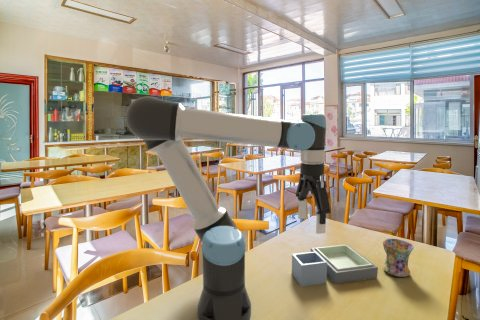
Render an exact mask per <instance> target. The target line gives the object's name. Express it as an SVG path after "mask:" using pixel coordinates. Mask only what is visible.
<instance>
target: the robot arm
mask: <svg viewBox="0 0 480 320" xmlns="http://www.w3.org/2000/svg"><path fill="white" fill-rule="evenodd" d="M125 122H126V125H127V127H128V129H129V131H130V133H132V134H133V135H134V136H135V137H137V138H139V139H140V140H143V143H144V144H145V146H146V148H147V149H148V151H149V152H151V153H155V154H157V156H158V158H159V160H160V162H161V163H162V165H163V167H164V169H165V170H166V173H167V174H168V175H169V177H170V179H171V181H172V182H173V184H174V186H175V188H176V190H177V191H178V193H179V195H180V197H181V199H182V200H183V202H184V204H185V205H186V208H187V209H188V211H189V212H190V215H191V216H192V218H193V219H194V221H193V225H192V228H193V230H194V231H195V233H196V235H197V237H198V239H199V240H200V242H201V252H202V253H201V254H202V255H201V256H202V284H203V285H202V286H203V287H202V290H201V293H200V297H199V300H198V303H197V317H198V318H197V319H198V320H250V318H251V315H252V303H251V299H250V297H249V294H248V291H247V288H246V285H245V284H246V276H245V275H246V272H245V271H246V264H245V263H246V262H245V261H246V241H245V237H244V234H243V233H242V231H241V230H239V229H238V227H237V225H236V223H235V221H234V220H232V218H231V217H230V215H229V213H228V211H227V209H226V208H225V207H223V206H219V205H218V202H217V201H216V199H215V197H214V196H213V194H212V192H211V190H210V188H209V186H208V184H207V183H206V181H205V178H204V177H203V175H202V173H201V171H200V169H199V167H198V166H197V164H196V162H195V160H194V158H193V157H192V155H191V152H190V151H189V149H188V147H187V146H186V144H185V141H184V139H193V140H200V141H201V140H202V141H213V142H222V143H232V144H243V145H250V146H252V145H253V146H262V147H270V148H271V147H272V148H278V149H279V148H280V149H289V150H293V151H300V161H301V163H300V172H299V173H300V174H299V181H298V184H297V188H296V193H295V198H296V197H297V200H298V213H297V214H298V216H297V217H298V220H301V219H307V205H308V203H307V201H308V197H307V196H309V193H310V194H311V195H312V197H313V199H314V202H315V207H316V209H317V211H316V221H315V222H316V224H315V225H316V226H315V228H316V229H315V233H316V234H317V235H319V234H320V235H321V234H326V223H327V214H331V206H330V200H329V195H328V191H327V182H326V180H321V176H323V175H325V163H324V162H325V155H326V151H325V150H326V134H327V133H326V131H327V120H326V116H325V114H322V113H310V114H309V113H307V114H304V113H303V114H302V115H301V118H300V120H290V119H289V120H288V119H279V118H272V117H264V116H254V115H249V114H248V115H247V114H238V113H232V112H231V113H230V112H222V111H221V112H220V111H213V110H205V109H197V108H188V107H185V106H184V105H182V104H181V103H180V102H172V101H168V100H164V99H162V98H159V97H155V96H150V95H144V96H140V97H138V98H136V99H134V100H133V101H132V102H131V103H130V104H129V106H128V107H127V110H126V113H125Z"/></svg>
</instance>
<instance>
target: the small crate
mask: <svg viewBox="0 0 480 320" xmlns="http://www.w3.org/2000/svg"><path fill="white" fill-rule="evenodd" d="M291 275H292V276H293V278H295V280H296V282H297V283H298V285H299V286H300V287H308V286H314V285H321V284H322V285H323V284H326V283H327V277H328V275H327V262H326V261H325V260H324V259H323V258H322V257H321V256H320V255H319V254H318V253H317V252H316V251H315V252H311V251H307V252H298V253H292V255H291Z"/></svg>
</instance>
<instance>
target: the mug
mask: <svg viewBox="0 0 480 320" xmlns="http://www.w3.org/2000/svg"><path fill="white" fill-rule="evenodd" d="M382 245H383V250H384V251H385V254H386V260H385V262H384V264H383V265H382V269H383V271H384V272H386V273H387V274H389V275H391V276H394V277H399V278H406V277H408V276H410V274H411V271H410V269H409V257H410V255H411V254H412V251H413V250H414V245H413V244H412V243H410V242H409V241H406V240H403V239H398V238H386V239H384V240H383V242H382Z"/></svg>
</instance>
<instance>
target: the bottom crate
mask: <svg viewBox="0 0 480 320" xmlns="http://www.w3.org/2000/svg"><path fill="white" fill-rule="evenodd" d="M337 245H338V244H336V245H334V246H337ZM343 245H347V246H348V247H350V248H351V249H352V250H354V251H355V252H356V253H358V254H359V255H360V256H362V257H363V258H364V259H366V260H367V261H368V262H370V263H371V264H372V267H366V268H358V269H351V270H343V271H336V270H335V269H334V268H333V267H332V266H331V265H330V264H329V263H328V262H327V261H326V260H325V259H324V258H323V257H322V256H321V255H320V254H319V253H318V252H317V251H316V250H315V248H319V247H320V246H318V247H317V246H316V247H310V252H315V251H316V252H317V253H318V254H319V255H320V256H321V257H322V258H323V259H324V260H325V261H326V262H327V277H329V279H330V280H331V281H332V282H333V283H334V284H335V285H339V284H346V283H352V282H353V283H354V282H360V281H367V280H374V279H375V280H376V279H377V278H378V273H379V272H378V269H379V268H378V265H376V264H374V263H373V262H372V261H370V260H369V259H368V258H366V256H365V257H364V255H362V254H360V253H359V252H358V251H356V250H355V249H354V248H353V247H351V246H350V245H348V244H346V243H345V244H343ZM328 246H329V245H328ZM328 246H324V247H328Z"/></svg>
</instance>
